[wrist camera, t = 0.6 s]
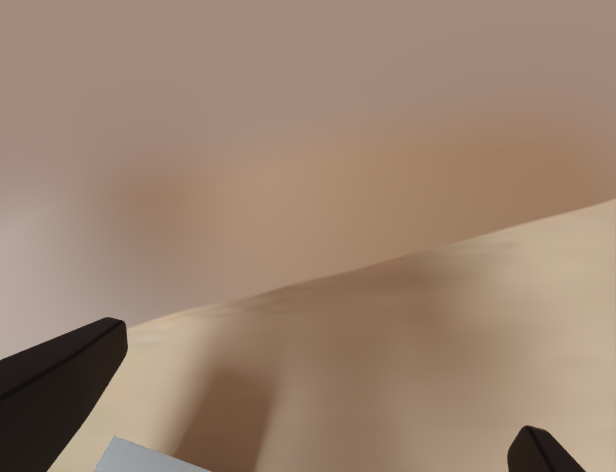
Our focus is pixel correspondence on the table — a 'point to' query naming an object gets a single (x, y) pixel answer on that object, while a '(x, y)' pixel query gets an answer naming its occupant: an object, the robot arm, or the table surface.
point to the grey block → (140, 459)
